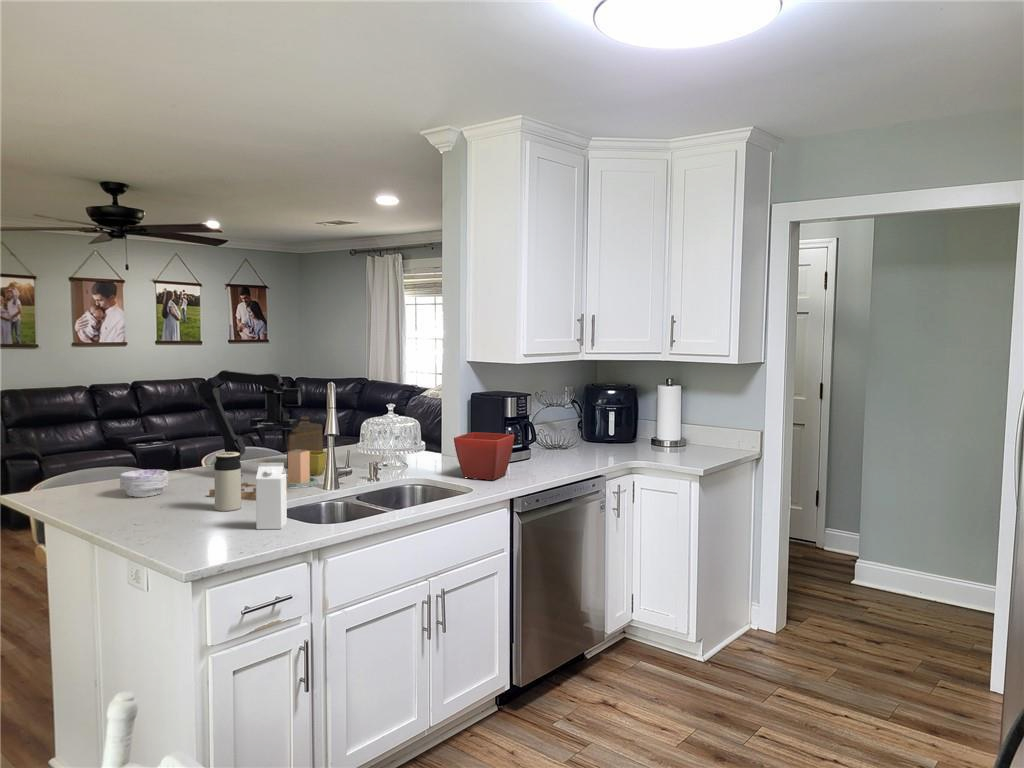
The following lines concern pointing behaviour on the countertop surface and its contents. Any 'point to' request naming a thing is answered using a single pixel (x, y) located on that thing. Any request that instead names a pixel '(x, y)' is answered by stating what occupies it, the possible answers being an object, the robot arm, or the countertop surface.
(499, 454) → the plant pot
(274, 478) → the milk carton
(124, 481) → the paper bowls
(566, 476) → the countertop surface
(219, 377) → the robot arm
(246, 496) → the brown flat frame
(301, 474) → the long pot
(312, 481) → the saucer
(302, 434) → the wooden container
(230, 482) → the travel mug
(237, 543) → the countertop surface
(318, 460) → the flower pot
